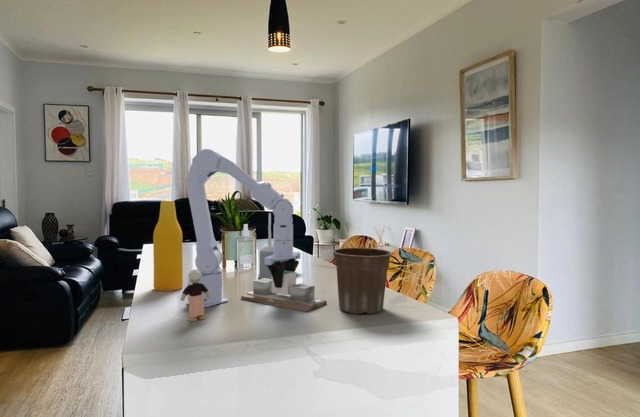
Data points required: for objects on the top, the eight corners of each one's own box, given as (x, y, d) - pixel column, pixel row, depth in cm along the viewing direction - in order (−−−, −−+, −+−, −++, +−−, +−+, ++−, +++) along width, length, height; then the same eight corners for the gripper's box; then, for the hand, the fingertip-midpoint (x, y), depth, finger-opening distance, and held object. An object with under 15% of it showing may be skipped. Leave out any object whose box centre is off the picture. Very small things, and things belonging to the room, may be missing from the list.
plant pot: (400, 306, 129) (400, 250, 128) (377, 320, 115) (377, 257, 114) (348, 299, 137) (349, 246, 136) (321, 311, 123) (322, 252, 122)
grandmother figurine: (203, 314, 119) (202, 266, 119) (212, 317, 117) (211, 268, 116) (177, 321, 113) (176, 270, 113) (186, 324, 111) (186, 272, 110)
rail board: (306, 311, 123) (306, 291, 122) (241, 299, 136) (241, 281, 136) (326, 303, 131) (326, 285, 131) (263, 293, 144) (263, 275, 144)
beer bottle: (153, 292, 144) (152, 201, 143) (154, 286, 153) (153, 200, 152) (183, 290, 147) (182, 201, 146) (182, 284, 156) (182, 200, 155)
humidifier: (283, 284, 158) (283, 212, 157) (279, 289, 150) (279, 213, 149) (260, 283, 159) (260, 212, 158) (254, 288, 151) (254, 213, 150)
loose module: (287, 295, 130) (287, 273, 130) (271, 292, 133) (271, 271, 133) (296, 292, 133) (296, 271, 133) (280, 289, 137) (280, 269, 136)
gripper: (278, 243, 125) (278, 292, 125) (308, 238, 137) (308, 283, 137) (258, 241, 128) (258, 289, 129) (290, 237, 140) (289, 280, 141)
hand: (283, 286), depth 133 cm, fingers closed on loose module, 4 cm apart
